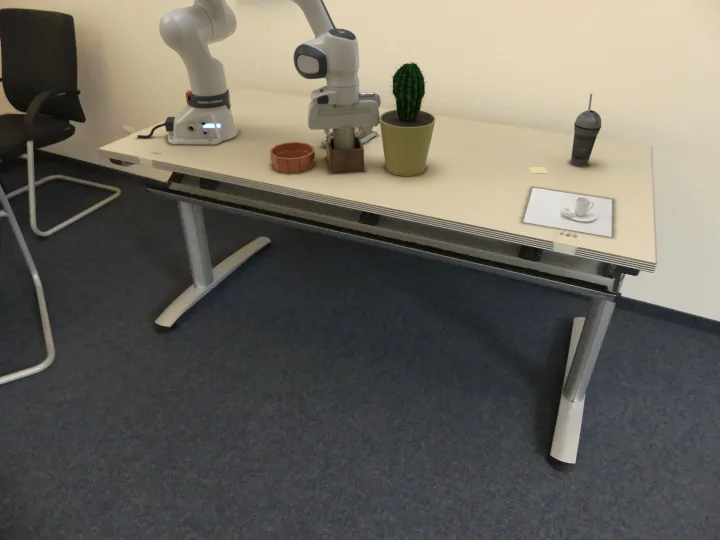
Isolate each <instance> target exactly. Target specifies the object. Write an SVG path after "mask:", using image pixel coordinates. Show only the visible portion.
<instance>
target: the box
mask: <svg viewBox="0 0 720 540" xmlns="http://www.w3.org/2000/svg"><path fill="white" fill-rule="evenodd" d="M332 131H333V137H334V150H342V149H355V128H351V127H350V126H346V127H341V128H339V129H332Z"/></svg>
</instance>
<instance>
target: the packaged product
mask: <svg viewBox="0 0 720 540" xmlns="http://www.w3.org/2000/svg"><path fill="white" fill-rule="evenodd" d="M358 132H359V128H358V127H357V128H355V134H358ZM329 134H330V136H333V130H332V131H330V132H329ZM378 135H379V132H378V131H376V130H375V131H374V130H373V127H364V132H363V133H362V135H361V136H360V141H361V143H362V145H364V144H365V143H368V141H369V140H370V139H372V138H373V137H376V136H378ZM320 143H321V147H324V148H326V139H324V140H322V141H321V142H320Z"/></svg>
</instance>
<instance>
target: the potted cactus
mask: <svg viewBox="0 0 720 540" xmlns="http://www.w3.org/2000/svg"><path fill="white" fill-rule="evenodd" d="M418 64H419V62H414V61H412V62H411V61H409V62H406V63H403V62H402V64H401V65H400V66H399V67H398V68H397V66H395V69H396V70H394V73H393V75H392V79H391V80H392V85H390V87H391V88H392V89H390V90H389V92H390V91H392V92H391V95H393V98H394V102H395V104H393V106H394V107H396V108H395V109H391V110H387V111H385V112H383V113H381V114H379V116H380V123H379V125H380V132H381V134H380V135H381V140H382V148H383V149H382V150H383V156H384V157H383V158H384V165H385V166H384V167H385V169H386V171H387V172H389V173H390V174H392V175H396V176H401V177H410V176H411V177H413V176H416V175H417V176H418V175H420V174H422V173H423V172H424V171H425V168H426V165H427V159H428V156H429V151H430V146H431V142H432V137H433V133H434V129H435V125H436V123H435V122H436V116H435V115H434V114H432V113H430V112H429V111H425V110H422V102H423V100H425V99H426V97H425V94H426V84H427V82H428V80H427V81H425V74H423V72H424V71H422V69H421V67H420V66H419V65H418Z"/></svg>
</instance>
